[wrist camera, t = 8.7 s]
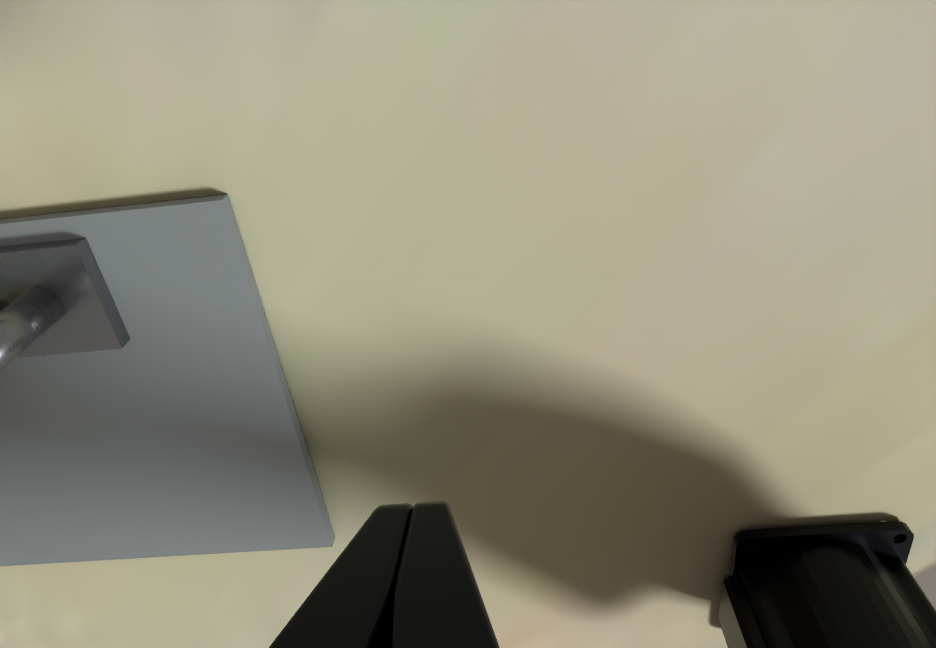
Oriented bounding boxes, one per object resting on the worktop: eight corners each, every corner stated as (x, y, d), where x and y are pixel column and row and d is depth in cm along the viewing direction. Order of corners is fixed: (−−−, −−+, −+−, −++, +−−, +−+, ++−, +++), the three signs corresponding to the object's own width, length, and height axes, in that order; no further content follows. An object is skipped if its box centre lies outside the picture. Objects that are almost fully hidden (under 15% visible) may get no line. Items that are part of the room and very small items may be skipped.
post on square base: (86, 237, 20) (5, 295, 17) (130, 338, 22) (65, 409, 18) (-24, 249, 20) (-125, 308, 17) (28, 348, 22) (-54, 419, 19)
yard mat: (227, 194, 20) (221, 199, 19) (334, 536, 27) (332, 546, 26) (-211, 242, 21) (-226, 248, 20) (3, 556, 28) (-5, 566, 28)
